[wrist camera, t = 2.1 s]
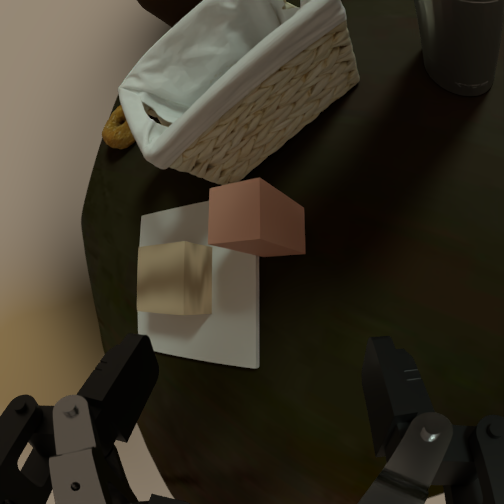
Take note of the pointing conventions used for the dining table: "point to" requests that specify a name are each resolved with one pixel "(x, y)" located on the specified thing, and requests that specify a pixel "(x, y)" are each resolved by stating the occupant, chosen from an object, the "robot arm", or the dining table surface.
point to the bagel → (118, 131)
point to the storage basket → (237, 83)
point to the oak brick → (175, 279)
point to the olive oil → (169, 9)
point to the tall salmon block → (255, 219)
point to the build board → (223, 296)
